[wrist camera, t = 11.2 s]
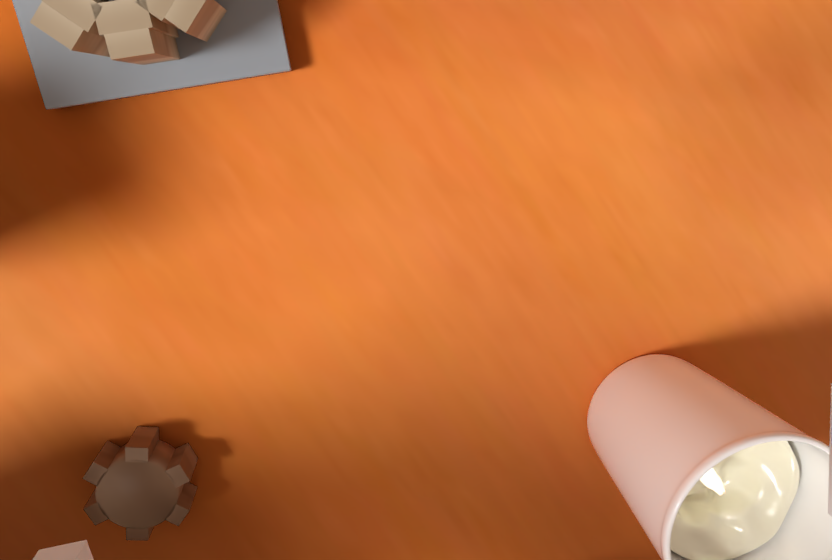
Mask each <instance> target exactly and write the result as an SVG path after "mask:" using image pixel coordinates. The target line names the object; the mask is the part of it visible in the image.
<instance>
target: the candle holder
mask: <svg viewBox="0 0 832 560" xmlns="http://www.w3.org/2000/svg"><path fill="white" fill-rule="evenodd" d="M587 427H588V434H589V437H590V440H591V443H592V445H593V447H594V449H595V451H596V453H597V455H598V456H599V458H600V460H601V462H602V463H603V465H604V467H605V468H606V470H607V472H608V473H609V475H610V476H611V478H612V480H613V481H614V483H615V485H616V486H617V488H618V490H619V491H620V493H621V494H622V496H623V498H624V499H625V501H626V503H627V504H628V506H629V507H630V509H631V511H632V512H633V514H634V516H635V517H636V519H637V520H638V522H639V524H640V525H641V527H642V529H643V530H644V532H645V533H646V535H647V537H648V538H649V540H650V542H651V543H652V545H653V546H654V548H655V550H656V551H657V553H658V555H659V556H660V558H661V559H662V560H832V516H830V515H829V514H828V483H829V446H828V445H826V444H825V443H823V442H821V441H819V440H817V439H815V438H813V437H811V436H809V435H807V434H806V433H804V432H802V431H801V430H799V429H797V428H796V427H794V426H792V425H791V424H789V423H788V422H786V421H784V420H783V419H781V418H780V417H778V416H776V415H775V414H773V413H771V412H770V411H768V410H767V409H765V408H763V407H762V406H760V405H758V404H757V403H755V402H754V401H752V400H750V399H749V398H747V397H745V396H744V395H742V394H741V393H739V392H737V391H736V390H734V389H732V388H731V387H729V386H728V385H726V384H724V383H723V382H721V381H719V380H718V379H716V378H715V377H713V376H711V375H710V374H708V373H706V372H705V371H703V370H701V369H700V368H698V367H696V366H694V365H693V364H691V363H689V362H687V361H685V360H683V359H680V358H678V357H674V356H670V355H664V354H652V355H645V356H641V357H637V358H634V359H632V360H630V361H627V362H625V363H624V364H622V365H620V366H619V367H617V368H616V369H615V370H613V371H612V372H611V373H610V374H609V375H608V376H607V377H606V378H605V379H604V380H603V381H602V382H601V384H600V385H599V387H598V388H597V390H596V391H595V393H594V395H593V397H592V400H591V402H590V406H589V410H588V416H587Z"/></svg>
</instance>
